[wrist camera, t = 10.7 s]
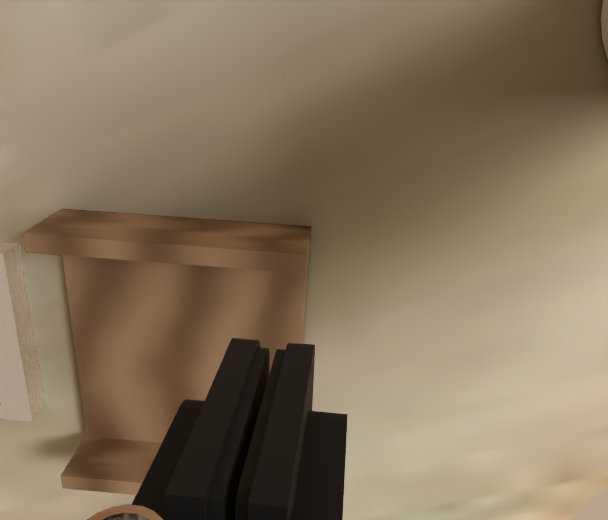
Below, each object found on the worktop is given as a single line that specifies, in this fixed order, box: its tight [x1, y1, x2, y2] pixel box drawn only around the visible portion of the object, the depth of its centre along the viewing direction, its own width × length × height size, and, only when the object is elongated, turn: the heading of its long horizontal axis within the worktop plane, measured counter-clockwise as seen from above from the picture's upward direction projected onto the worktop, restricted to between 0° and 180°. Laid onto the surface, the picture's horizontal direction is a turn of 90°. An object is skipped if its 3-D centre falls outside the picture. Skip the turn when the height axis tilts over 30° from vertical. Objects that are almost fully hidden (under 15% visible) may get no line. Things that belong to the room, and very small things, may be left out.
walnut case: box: [22, 209, 311, 495], centre depth 38 cm, size 17×20×5 cm
